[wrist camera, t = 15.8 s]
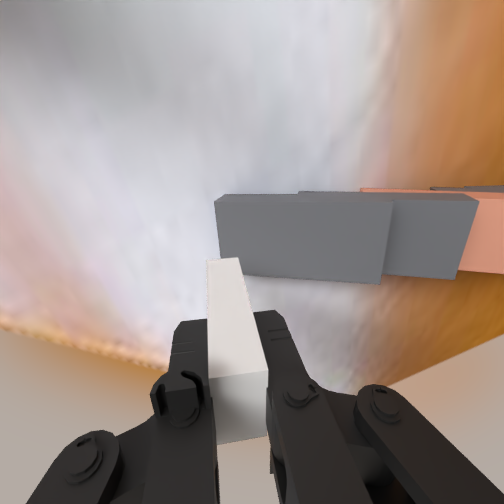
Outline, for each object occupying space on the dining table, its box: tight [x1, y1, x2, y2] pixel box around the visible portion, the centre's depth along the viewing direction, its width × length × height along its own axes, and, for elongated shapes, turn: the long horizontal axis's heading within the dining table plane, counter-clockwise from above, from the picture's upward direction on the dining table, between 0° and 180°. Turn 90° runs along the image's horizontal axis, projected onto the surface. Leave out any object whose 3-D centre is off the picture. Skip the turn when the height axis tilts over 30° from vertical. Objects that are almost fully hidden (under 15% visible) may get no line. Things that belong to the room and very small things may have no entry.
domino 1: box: [214, 194, 394, 285], centre depth 17 cm, size 2×5×10 cm
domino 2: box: [298, 191, 480, 280], centre depth 18 cm, size 2×5×10 cm
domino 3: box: [360, 188, 504, 274], centre depth 19 cm, size 2×5×10 cm
